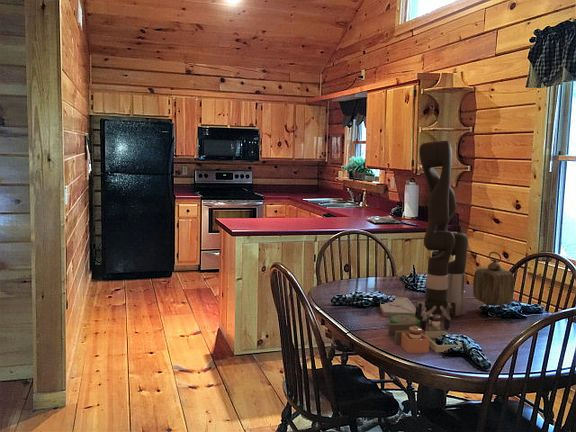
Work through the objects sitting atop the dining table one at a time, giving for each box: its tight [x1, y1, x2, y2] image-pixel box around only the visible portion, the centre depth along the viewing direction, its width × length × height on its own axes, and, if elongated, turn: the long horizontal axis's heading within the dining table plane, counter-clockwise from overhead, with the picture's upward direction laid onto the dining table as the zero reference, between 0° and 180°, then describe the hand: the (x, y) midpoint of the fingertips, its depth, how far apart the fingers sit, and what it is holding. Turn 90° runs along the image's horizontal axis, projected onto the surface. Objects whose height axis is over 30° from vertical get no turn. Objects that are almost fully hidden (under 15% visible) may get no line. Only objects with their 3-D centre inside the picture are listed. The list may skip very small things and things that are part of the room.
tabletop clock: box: [472, 251, 515, 310], centre depth 222 cm, size 14×9×25 cm, turn 20°
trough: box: [425, 330, 463, 353], centre depth 183 cm, size 9×14×3 cm, turn 8°
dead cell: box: [409, 326, 422, 339], centre depth 178 cm, size 4×4×8 cm
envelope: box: [379, 296, 416, 318], centre depth 226 cm, size 24×2×14 cm
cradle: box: [387, 323, 426, 346], centre depth 188 cm, size 10×11×5 cm
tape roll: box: [389, 315, 420, 327], centre depth 204 cm, size 11×11×3 cm
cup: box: [400, 332, 430, 354], centre depth 178 cm, size 7×7×5 cm
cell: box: [428, 314, 442, 331], centre depth 194 cm, size 4×4×8 cm
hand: (434, 329), depth 194 cm, fingers open, 8 cm apart
